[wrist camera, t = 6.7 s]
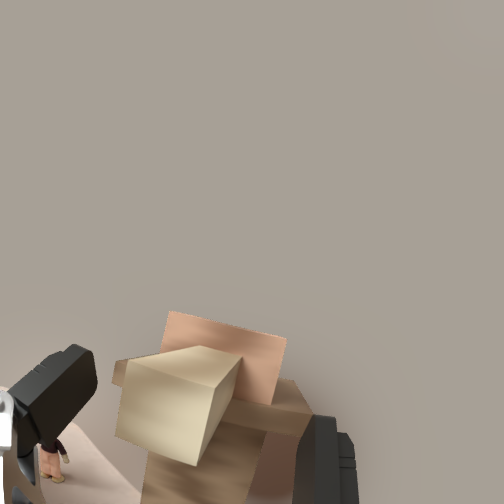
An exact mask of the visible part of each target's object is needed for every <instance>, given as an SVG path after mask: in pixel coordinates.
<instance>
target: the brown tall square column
mask: <svg viewBox="0 0 504 504" xmlns="http://www.w3.org/2000/svg"><path fill="white" fill-rule="evenodd" d="M158 354H160V353H158ZM153 355H157V354H153ZM147 356H151V355H147ZM143 357H146V356H143ZM137 358H141V357H137ZM131 359H136V358H131ZM128 360H130V359H125V360H119V361H116V363H115V368H114V373H113V379H112V383H113V384H115V385H117V386H120V387H122V388H123V383H124V378H125V373H126V368H127V363H128ZM312 415H313V412H312V411H311V409H310V408H309V406H308V404H307V402H306V400H305V399H304V397H303V396H302V394H301V392H300V390H299V389H298V387H297V385H296V383H295V382H294V381H293V380H287V379H282V378H278V379H277V383H276V387H275V391H274V395H273V398H272V402H271V405H266V404H262V403H257V402H252V401H248V400H244V399H240V398H235V397H232V398H231V400H230V402H229V404H228V406H227V408H226V410H225V412H224V414H223V416H222V418H221V420H220V422H219V424H218V426H217V428H216V430H215V432H214V434H213V436H212V437H211V439H210V441H209V443H208V445H207V447H206V449H205V451H204V453H203V455H202V457H201V458H200V460H199V462H198V464H197V466H193V465H190V464H187V463H184V462H180V461H177V460H174V459H171V458H168V457H166V456H163V455H160V454H157V453H155V452H152V451H149V452H148V457H147V464H146V470H145V476H144V482H143V489H142V496H141V503H140V504H244V503H245V500H246V497H247V494H248V491H249V488H250V485H251V482H252V479H253V476H254V472H255V469H256V466H257V463H258V459H259V456H260V453H261V449H262V446H263V442H264V439H265V435H266V432H267V431H269V432H274V433H280V434H286V435H291V436H298V437H302V435H303V433H304V431H305V429H306V427H307V425H308V423H309V421H310V419H311V417H312Z"/></svg>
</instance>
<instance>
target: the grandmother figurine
mask: <svg viewBox="0 0 504 504" xmlns="http://www.w3.org/2000/svg"><path fill="white" fill-rule="evenodd" d="M38 443H40V442H38ZM40 444H41V443H40ZM58 450H59V452H60V454H61V455H62V458H63V461H64V463H66V464H68V463H69V459H68V456H67V452H66V450H65V449H64V447H63V445H62V443H61V442H60V441H59V440H58V439H57V438H56V440H55V441H54V442H53V443H52V444H51V446H50V447H49V448H47V447H46V446H44V445H43V444H41V448H40V463H41V476H42V477H44V478H49V477H50V476H51V475H52V476H53V477H52V481H54V482H56V483H60V482H62V481H64V477H63V476H62V475H61V473H60V460H59V454H58Z"/></svg>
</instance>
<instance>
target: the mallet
mask: <svg viewBox="0 0 504 504" xmlns="http://www.w3.org/2000/svg"><path fill="white" fill-rule="evenodd" d="M286 342H287V339H285V338H282V337H280V336H276V335H271V334H266V333H262V332H257V331H253V330H249V329H245V328H240V327H236V326H232V325H228V324H224V323H220V322H216V321H212V320H209V319H205V318H201V317H197V316H192V315H188V314H183V313H179V312H174V311H170V312H169V316H168V320H167V324H166V328H165V333H164V337H163V341H162V345H161V350H160V354H157V355H151V356H146V357H141V358H136V359H130V360H128V363H127V368H126V373H125V378H124V383H123V388H122V394H121V400H120V406H119V412H118V419H117V425H116V432H115V436H116V437H118V438H121V439H123V440H125V441H127V442H130V443H132V444H134V445H137V446H139V447H142V448H144V449H147V450H149V451H152V452H155V453H157V454H160V455H163V456H166V457H168V458H171V459H174V460H177V461H180V462H184V463H187V464H190V465H193V466H197V464H198V462H199V460H200V458H201V457H202V455H203V453H204V451H205V449H206V447H207V445H208V443H209V441H210V439H211V437H212V436H213V434H214V432H215V430H216V428H217V426H218V424H219V422H220V420H221V418H222V416H223V414H224V412H225V410H226V408H227V406H228V404H229V402H230V400H231V398H232V397H235V398H240V399H244V400H248V401H252V402H257V403H262V404H266V405H271V402H272V398H273V395H274V391H275V387H276V383H277V379H278V375H279V371H280V367H281V363H282V359H283V354H284V351H285V346H286Z"/></svg>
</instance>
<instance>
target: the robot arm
mask: <svg viewBox="0 0 504 504" xmlns="http://www.w3.org/2000/svg"><path fill="white" fill-rule="evenodd" d="M97 384H98V381H97V376H96V369H95V363H94V356H93V353H92V352H91V351H89V350H87V349H85V348H83V347H81V346H78V345H77V344H72V345H71V346H69V347H68V348H67V349H66V350H65V351H64V352H62V351H59V352H57V353H54V354H52V355H49V356H48V357H47V358H46V359H44V360H43V361H42V362H41V363H40V365H37V366H36V367H35V368H34V369H33V371H32V370H31V371H30V372H29V373H28V374H27V375H25V377H23V378H22V379H21V380H20V381H18V382H17V383H16V384H15V385H14V386H13V387H12V388H10V389H9V390H8V391H7V392H5V391H3V390H0V504H46V502H45V499H44V497H43V495H42V492H41V487H40V477H39V464H38V449H37V446H36V444H37V443H38V442H40V443H41V444H43V445H44V446H46V447H47V448H49V447H50V446H51V444H52V443H53V442H54V441H55V440H56V438H57V437H58V436H59V435H60V434H61V432H62V431H63V430H64V429H65V428H66V427H67V425H68V424H69V423H70V422H71V421H72V419H73V418H74V417H75V416H76V415H77V414H78V412H79V411H80V410H81V409H82V408H83V406H84V405H85V404H86V403H87V402H88V401H89V400H90V398H91V397H92V396H93V395H94V393H95V391H96V389H97ZM292 504H359V495H358V483H357V471H356V461H355V452H354V444H353V443H352V441H351V439H350V438H349V436H348V434H347V433H340V432H337V427H336V418H335V417H330V416H322V415H315V414H313V415H312V417H311V419H310V421H309V423H308V425H307V427H306V429H305V431H304V433H303V435H302V437H301V440H300V442H299V445H298V449H297V454H296V467H295V479H294V490H293V501H292Z"/></svg>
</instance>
